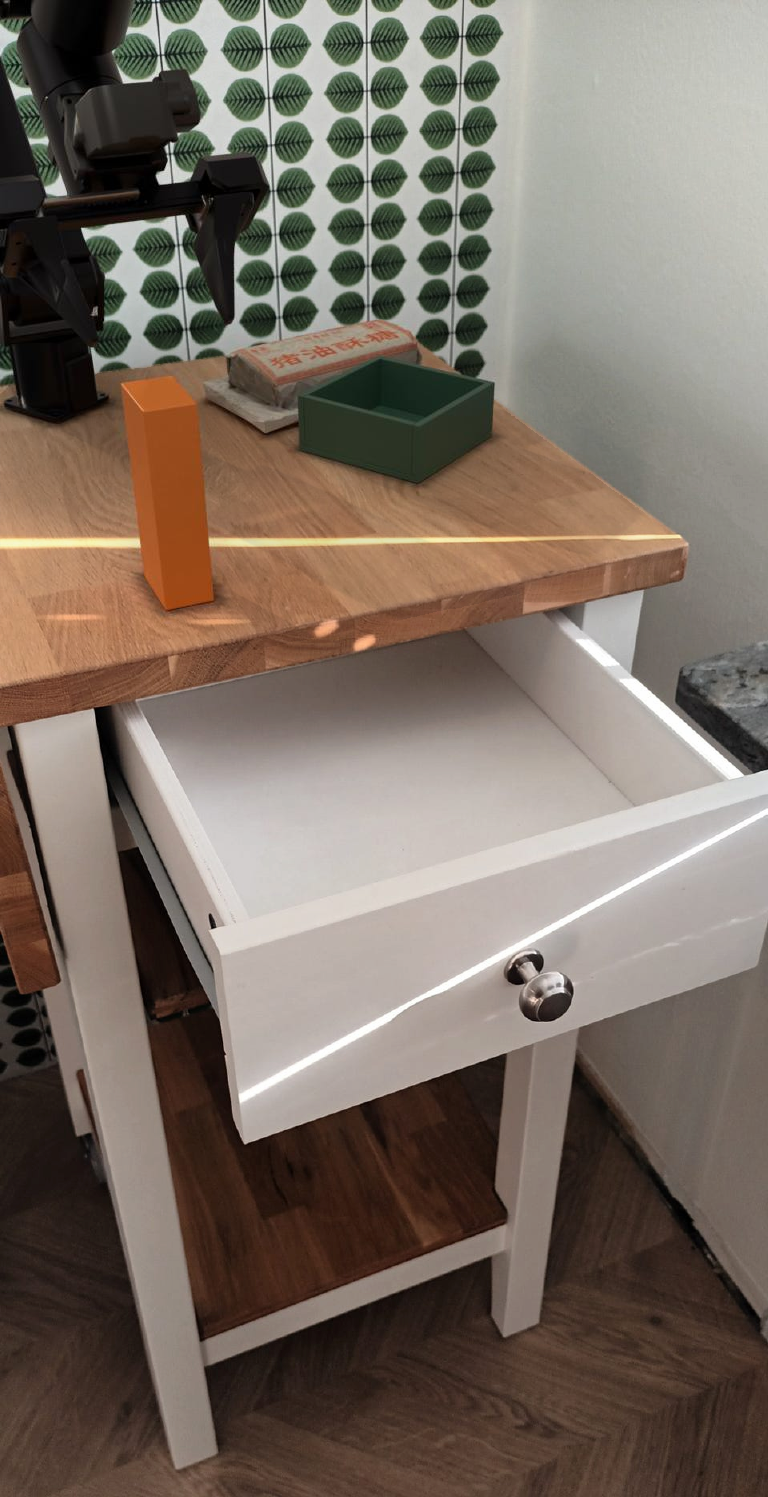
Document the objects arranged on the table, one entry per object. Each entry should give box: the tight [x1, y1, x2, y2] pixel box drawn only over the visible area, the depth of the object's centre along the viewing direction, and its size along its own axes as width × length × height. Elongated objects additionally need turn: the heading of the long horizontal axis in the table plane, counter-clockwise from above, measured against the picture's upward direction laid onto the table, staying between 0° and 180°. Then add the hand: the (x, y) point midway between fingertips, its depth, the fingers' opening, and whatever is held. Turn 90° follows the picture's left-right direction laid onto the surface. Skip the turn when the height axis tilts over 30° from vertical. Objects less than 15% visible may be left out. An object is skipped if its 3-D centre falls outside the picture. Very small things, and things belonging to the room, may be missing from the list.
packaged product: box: [202, 319, 423, 434], centre depth 107 cm, size 18×5×10 cm
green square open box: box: [297, 356, 496, 484], centre depth 99 cm, size 11×11×4 cm
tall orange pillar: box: [120, 375, 215, 611], centre depth 77 cm, size 5×3×13 cm, turn 24°
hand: (164, 332), depth 79 cm, fingers open, 9 cm apart
